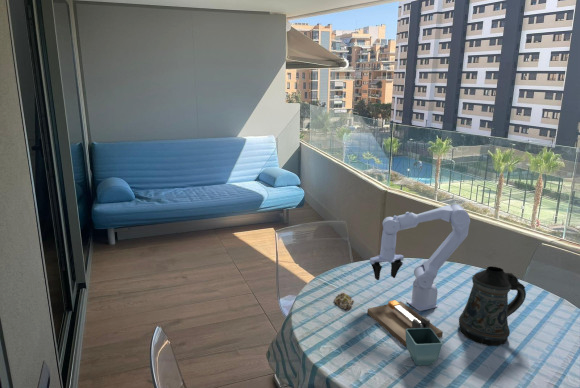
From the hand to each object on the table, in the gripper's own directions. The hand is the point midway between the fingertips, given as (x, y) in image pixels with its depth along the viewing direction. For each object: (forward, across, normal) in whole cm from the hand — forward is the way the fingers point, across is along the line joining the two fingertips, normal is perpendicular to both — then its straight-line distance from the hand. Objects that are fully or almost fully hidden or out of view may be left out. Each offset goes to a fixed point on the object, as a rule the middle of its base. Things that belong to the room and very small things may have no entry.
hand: (385, 278), depth 160 cm
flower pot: (+10, -9, -37) cm, 40 cm away
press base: (+10, -2, -18) cm, 20 cm away
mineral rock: (+11, -16, +3) cm, 20 cm away
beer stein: (+10, +24, -31) cm, 40 cm away
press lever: (+6, -2, -19) cm, 20 cm away
